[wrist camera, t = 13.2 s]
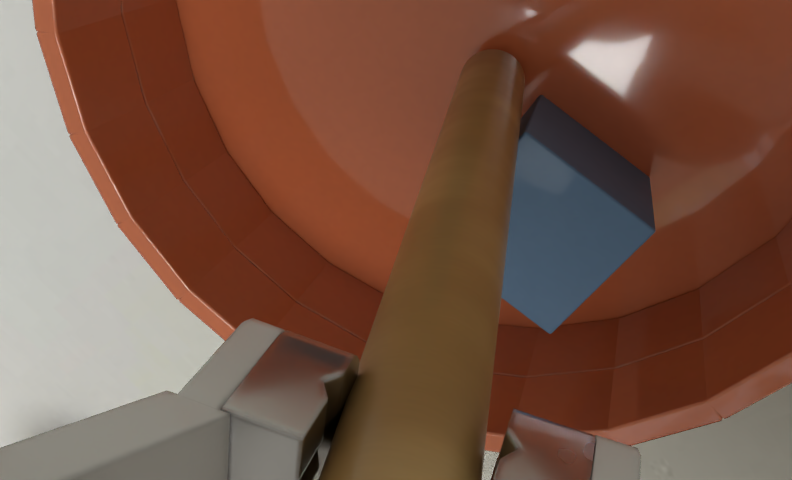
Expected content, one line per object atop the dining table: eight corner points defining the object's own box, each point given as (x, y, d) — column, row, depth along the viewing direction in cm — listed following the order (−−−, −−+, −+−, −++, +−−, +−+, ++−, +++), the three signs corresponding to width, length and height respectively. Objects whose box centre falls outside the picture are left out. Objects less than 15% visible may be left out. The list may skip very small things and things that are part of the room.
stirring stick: (531, 54, 20) (449, 878, 5) (517, 115, 21) (415, 968, 6) (465, 43, 20) (182, 803, 5) (455, 104, 21) (192, 902, 6)
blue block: (650, 177, 21) (656, 231, 18) (560, 270, 23) (550, 336, 19) (540, 93, 21) (525, 131, 17) (459, 193, 23) (430, 245, 19)
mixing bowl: (1177, -431, 13) (1480, -593, 8) (732, 412, 24) (748, 559, 19) (159, -518, 18) (-43, -663, 13) (171, 233, 29) (65, 315, 24)
